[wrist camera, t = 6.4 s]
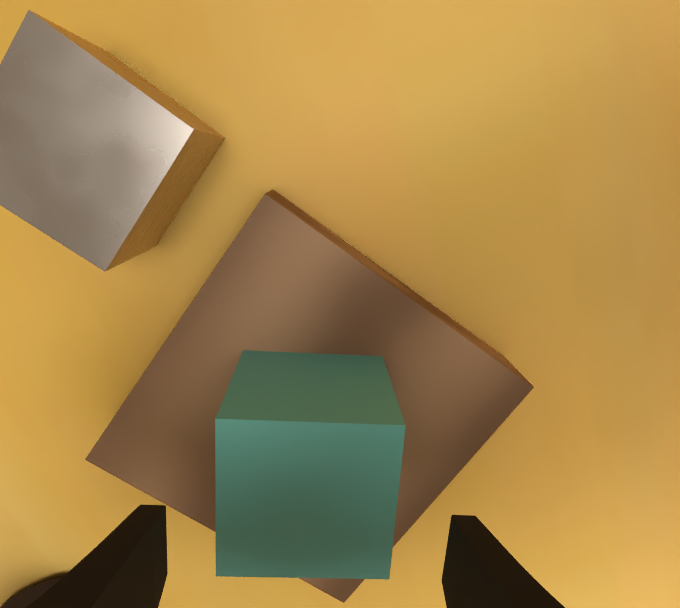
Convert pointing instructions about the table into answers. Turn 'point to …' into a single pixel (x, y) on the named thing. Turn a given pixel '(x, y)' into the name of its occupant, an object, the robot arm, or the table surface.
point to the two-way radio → (29, 594)
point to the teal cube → (307, 467)
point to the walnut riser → (307, 337)
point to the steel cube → (92, 146)
